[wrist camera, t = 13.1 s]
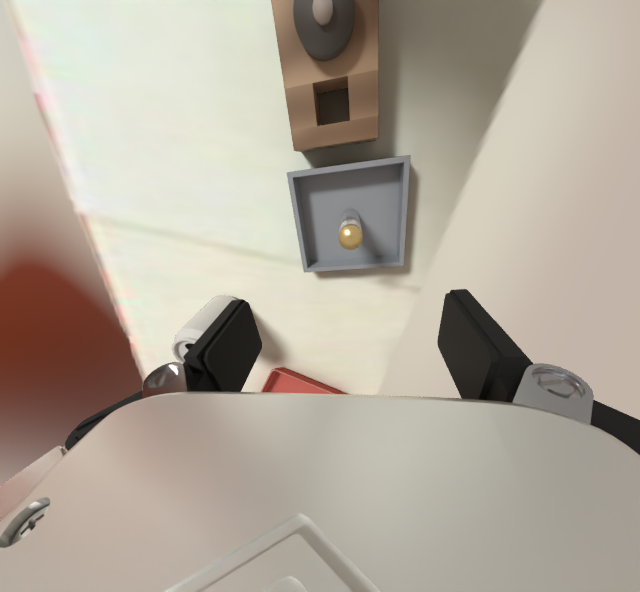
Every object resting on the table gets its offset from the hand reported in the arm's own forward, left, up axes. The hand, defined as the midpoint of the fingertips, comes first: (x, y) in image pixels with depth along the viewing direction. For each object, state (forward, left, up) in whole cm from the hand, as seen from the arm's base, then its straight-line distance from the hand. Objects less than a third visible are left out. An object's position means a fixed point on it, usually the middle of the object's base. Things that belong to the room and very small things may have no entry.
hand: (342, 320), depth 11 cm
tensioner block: (-14, -1, -24) cm, 28 cm away
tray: (0, 0, -24) cm, 24 cm away
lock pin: (0, 0, -24) cm, 24 cm away
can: (+15, -23, -24) cm, 37 cm away
